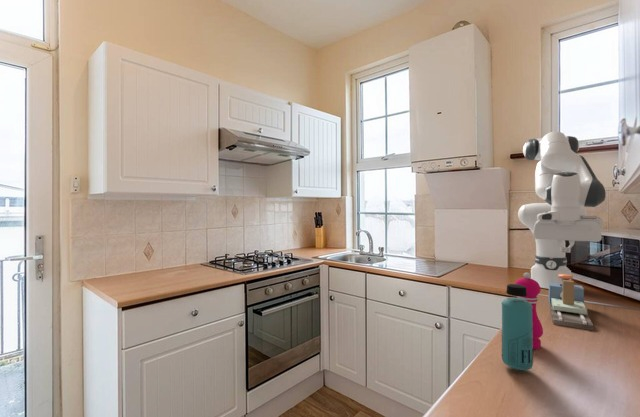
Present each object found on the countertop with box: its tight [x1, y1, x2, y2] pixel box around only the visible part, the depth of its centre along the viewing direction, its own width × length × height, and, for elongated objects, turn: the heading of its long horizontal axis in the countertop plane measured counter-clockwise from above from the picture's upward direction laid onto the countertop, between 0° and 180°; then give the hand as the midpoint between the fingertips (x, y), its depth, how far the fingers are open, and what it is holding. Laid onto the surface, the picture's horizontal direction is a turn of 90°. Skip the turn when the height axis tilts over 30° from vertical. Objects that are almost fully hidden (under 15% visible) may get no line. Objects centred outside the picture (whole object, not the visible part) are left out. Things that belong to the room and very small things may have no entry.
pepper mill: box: [514, 272, 544, 350], centre depth 88 cm, size 7×7×20 cm
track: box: [549, 303, 595, 331], centre depth 108 cm, size 20×10×2 cm, turn 147°
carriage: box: [551, 279, 588, 314], centre depth 111 cm, size 10×9×10 cm
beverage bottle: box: [500, 283, 535, 371], centre depth 75 cm, size 6×7×20 cm
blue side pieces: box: [548, 282, 585, 306], centre depth 119 cm, size 6×10×8 cm, turn 57°
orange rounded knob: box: [558, 274, 574, 286], centre depth 119 cm, size 4×4×5 cm
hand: (565, 252), depth 119 cm, fingers closed
